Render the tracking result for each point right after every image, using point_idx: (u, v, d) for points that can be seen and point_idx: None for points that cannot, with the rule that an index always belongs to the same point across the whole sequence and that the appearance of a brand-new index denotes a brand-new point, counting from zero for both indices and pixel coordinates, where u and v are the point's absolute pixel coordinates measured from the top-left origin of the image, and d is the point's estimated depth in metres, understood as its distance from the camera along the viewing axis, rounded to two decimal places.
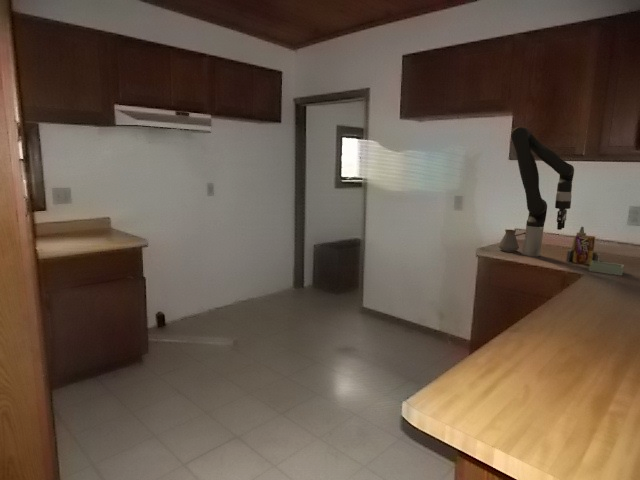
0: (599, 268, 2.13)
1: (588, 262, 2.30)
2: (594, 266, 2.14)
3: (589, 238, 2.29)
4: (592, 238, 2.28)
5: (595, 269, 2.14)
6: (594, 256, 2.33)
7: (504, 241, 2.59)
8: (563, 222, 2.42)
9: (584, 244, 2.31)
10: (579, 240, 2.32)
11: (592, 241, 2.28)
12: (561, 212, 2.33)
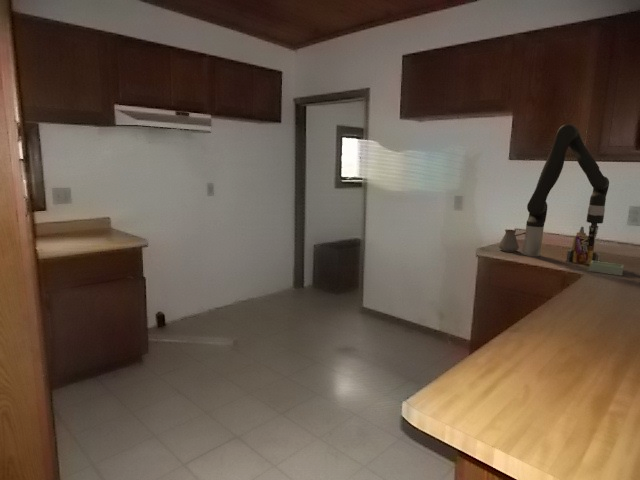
0: (599, 268, 2.13)
1: (588, 262, 2.30)
2: (594, 266, 2.14)
3: None
4: None
5: (595, 269, 2.14)
6: (594, 256, 2.33)
7: (504, 241, 2.59)
8: None
9: (584, 244, 2.31)
10: (579, 240, 2.32)
11: None
12: (593, 229, 2.23)
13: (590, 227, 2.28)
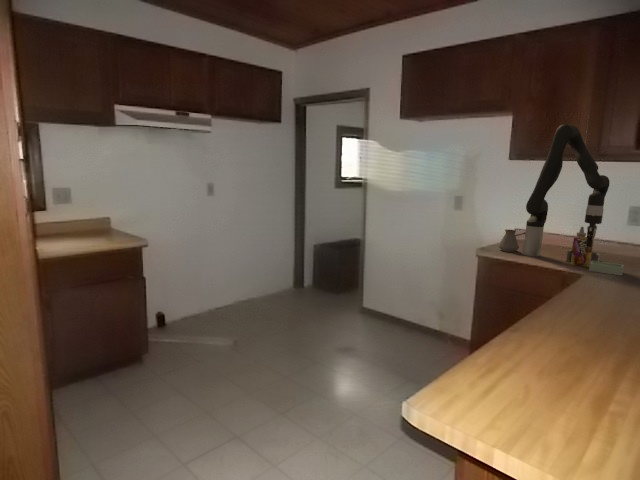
0: (599, 268, 2.13)
1: (586, 264, 2.24)
2: (594, 266, 2.14)
3: None
4: None
5: (595, 269, 2.14)
6: (594, 256, 2.33)
7: (504, 241, 2.59)
8: None
9: (582, 246, 2.24)
10: (577, 242, 2.26)
11: None
12: (592, 229, 2.17)
13: None
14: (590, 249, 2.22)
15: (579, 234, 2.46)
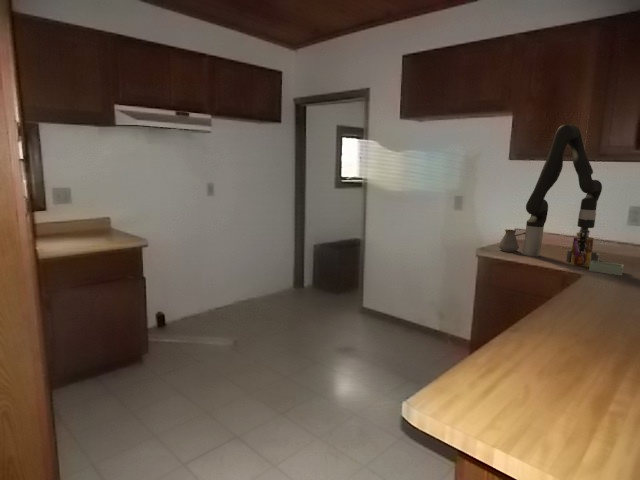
0: (599, 268, 2.13)
1: (586, 264, 2.24)
2: (594, 266, 2.14)
3: (587, 240, 2.23)
4: (590, 240, 2.22)
5: (595, 269, 2.14)
6: (594, 256, 2.33)
7: (504, 241, 2.59)
8: None
9: None
10: (576, 242, 2.25)
11: (590, 243, 2.22)
12: (584, 234, 2.19)
13: (581, 232, 2.24)
14: (590, 249, 2.22)
15: (579, 234, 2.46)
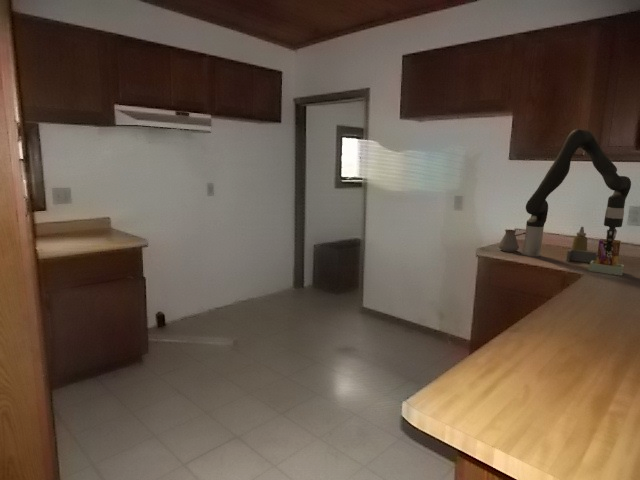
0: (599, 268, 2.13)
1: None
2: (594, 266, 2.14)
3: (613, 243, 2.10)
4: (617, 243, 2.09)
5: (595, 269, 2.14)
6: (594, 256, 2.33)
7: (504, 241, 2.59)
8: None
9: None
10: (602, 245, 2.13)
11: (617, 246, 2.09)
12: (612, 232, 2.06)
13: (608, 231, 2.11)
14: (617, 252, 2.10)
15: (579, 234, 2.46)
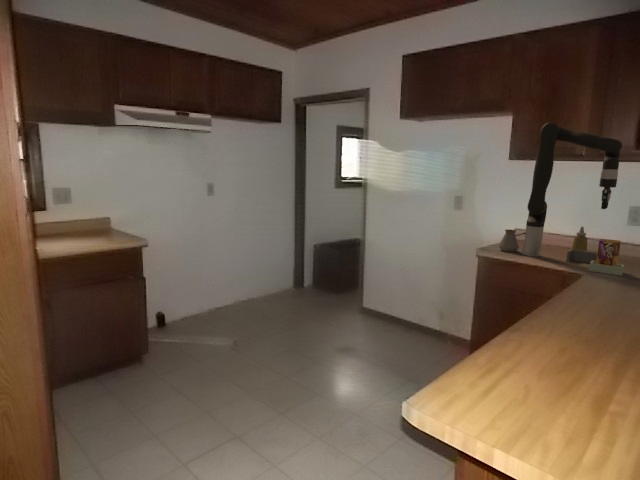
0: (599, 268, 2.13)
1: None
2: (594, 266, 2.14)
3: (613, 243, 2.10)
4: (617, 243, 2.09)
5: (595, 269, 2.14)
6: (594, 256, 2.33)
7: (504, 241, 2.59)
8: (607, 202, 2.32)
9: (608, 249, 2.12)
10: (602, 245, 2.13)
11: (617, 246, 2.09)
12: (607, 190, 2.22)
13: None
14: (617, 252, 2.10)
15: (579, 234, 2.46)
